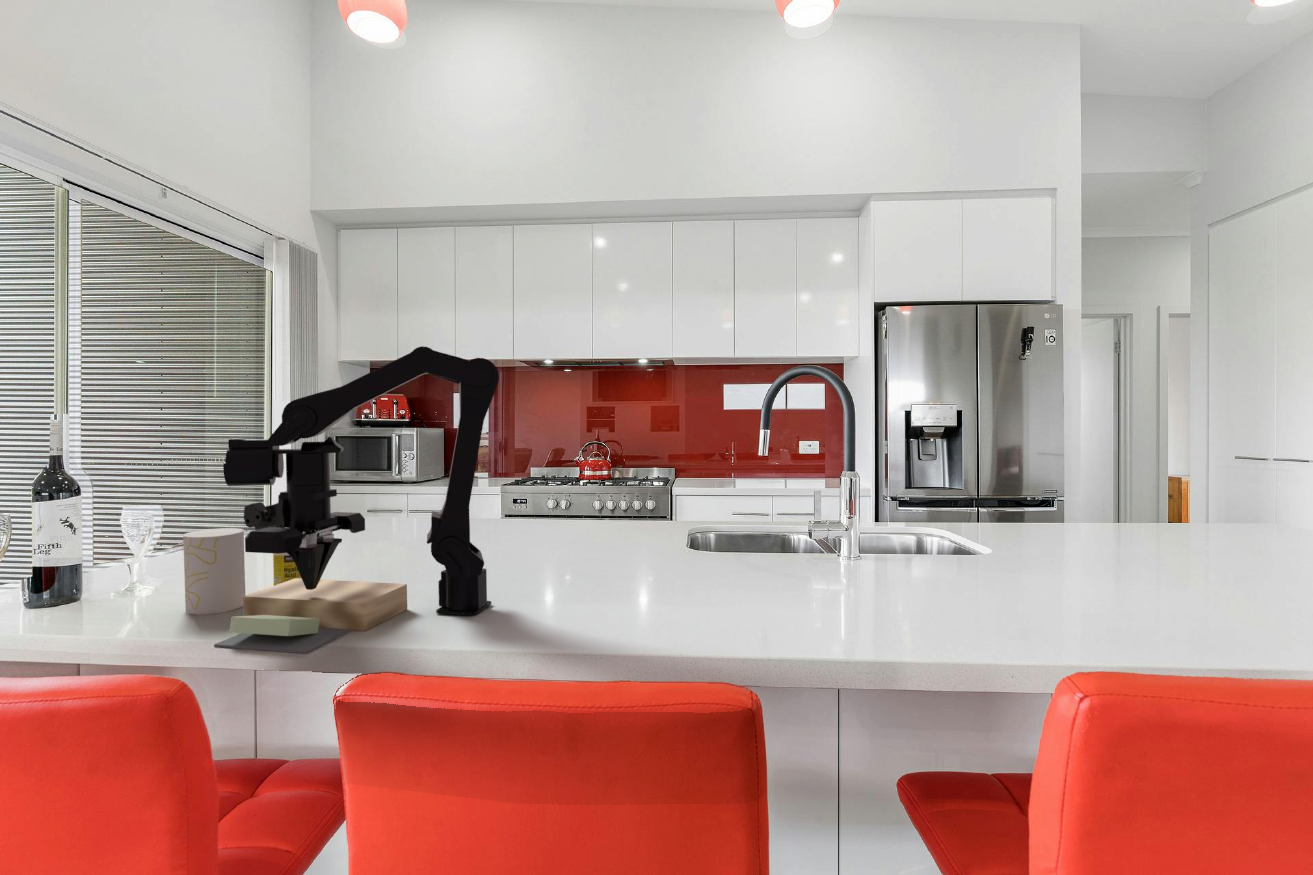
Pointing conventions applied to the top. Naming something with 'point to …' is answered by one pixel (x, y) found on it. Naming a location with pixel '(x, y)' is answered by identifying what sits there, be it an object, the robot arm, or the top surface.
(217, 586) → the cup
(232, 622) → the pale green foam block
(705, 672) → the top surface
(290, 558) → the supplement bottle
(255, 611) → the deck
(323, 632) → the mat
